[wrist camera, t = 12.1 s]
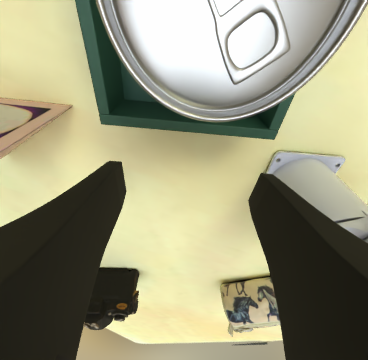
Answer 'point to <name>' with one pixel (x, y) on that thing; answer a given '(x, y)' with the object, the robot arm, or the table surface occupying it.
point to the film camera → (112, 297)
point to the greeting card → (24, 121)
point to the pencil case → (250, 305)
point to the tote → (145, 104)
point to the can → (226, 49)
